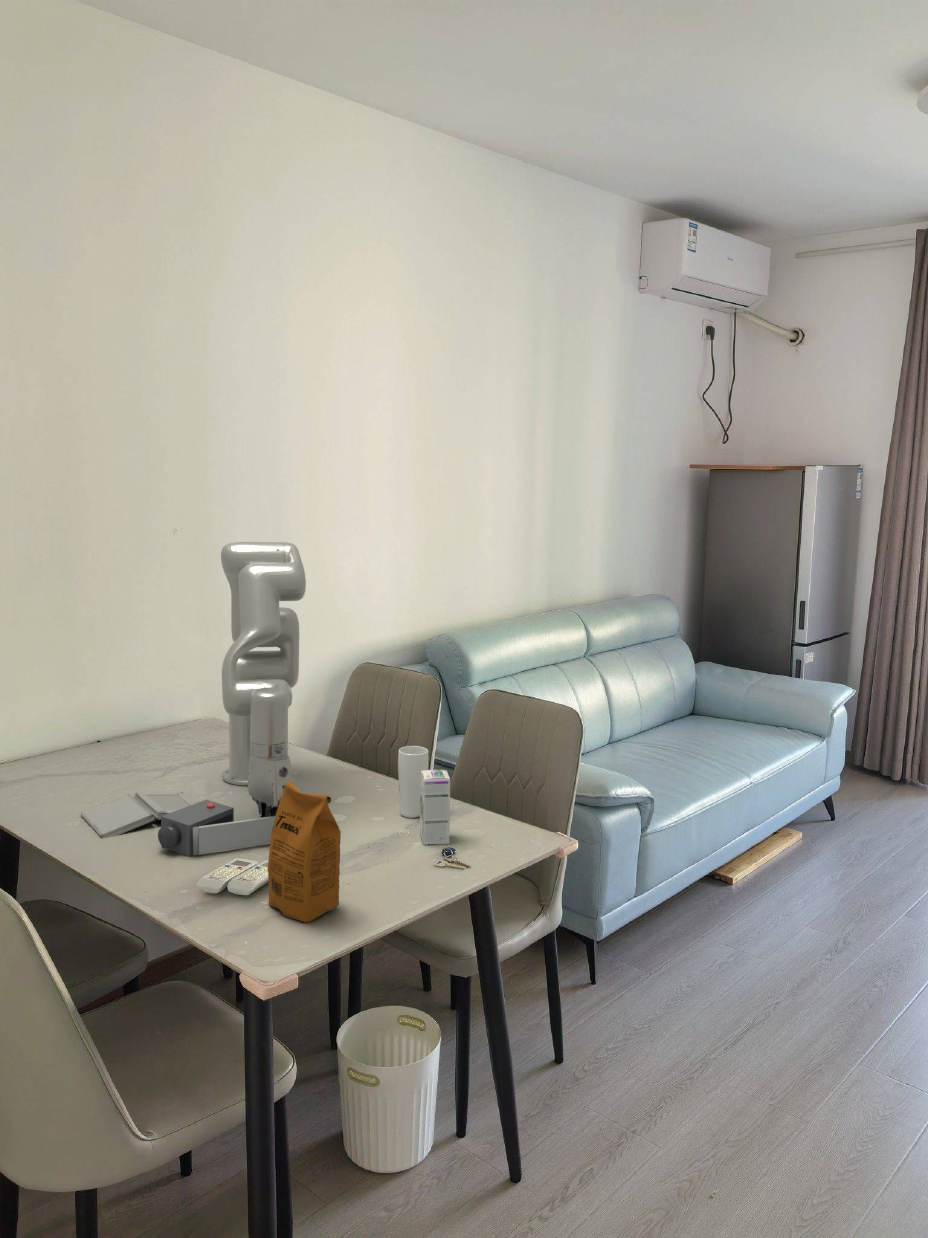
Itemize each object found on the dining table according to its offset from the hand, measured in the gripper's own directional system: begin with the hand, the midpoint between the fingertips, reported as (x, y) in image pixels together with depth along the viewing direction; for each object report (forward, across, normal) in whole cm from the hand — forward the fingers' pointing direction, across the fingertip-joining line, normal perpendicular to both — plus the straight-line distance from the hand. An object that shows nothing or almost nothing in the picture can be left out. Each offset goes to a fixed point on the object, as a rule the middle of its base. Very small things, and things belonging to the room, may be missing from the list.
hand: (269, 833), depth 198 cm
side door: (+1, -1, +7) cm, 7 cm away
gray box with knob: (+1, +8, +12) cm, 14 cm away
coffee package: (+1, -29, +14) cm, 32 cm away
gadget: (+2, +28, +13) cm, 31 cm away
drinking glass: (+1, -10, -32) cm, 33 cm away
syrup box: (+1, -24, -25) cm, 34 cm away
